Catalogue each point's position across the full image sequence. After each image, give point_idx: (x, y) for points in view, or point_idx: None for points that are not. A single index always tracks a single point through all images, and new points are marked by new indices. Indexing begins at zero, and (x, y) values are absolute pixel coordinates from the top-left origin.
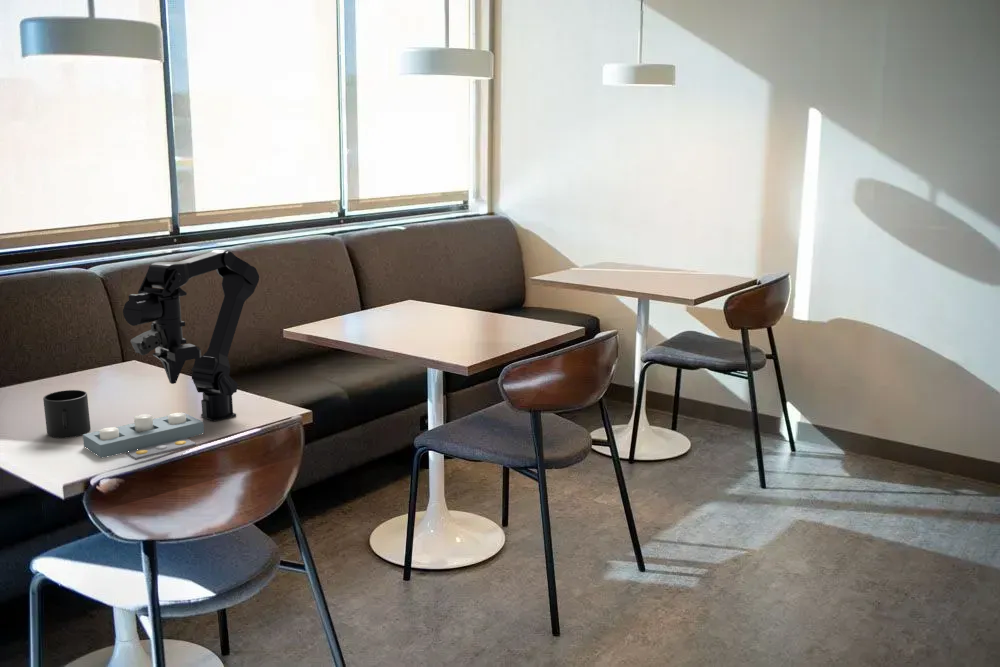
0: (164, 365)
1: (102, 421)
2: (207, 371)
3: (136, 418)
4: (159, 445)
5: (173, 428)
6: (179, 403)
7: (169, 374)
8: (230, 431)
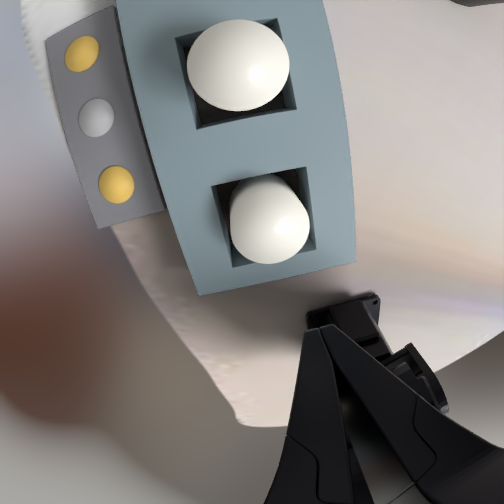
0: (419, 445)
1: (489, 59)
2: (352, 455)
3: (229, 28)
4: (121, 112)
5: (160, 183)
6: (487, 265)
7: (313, 396)
8: (191, 329)
